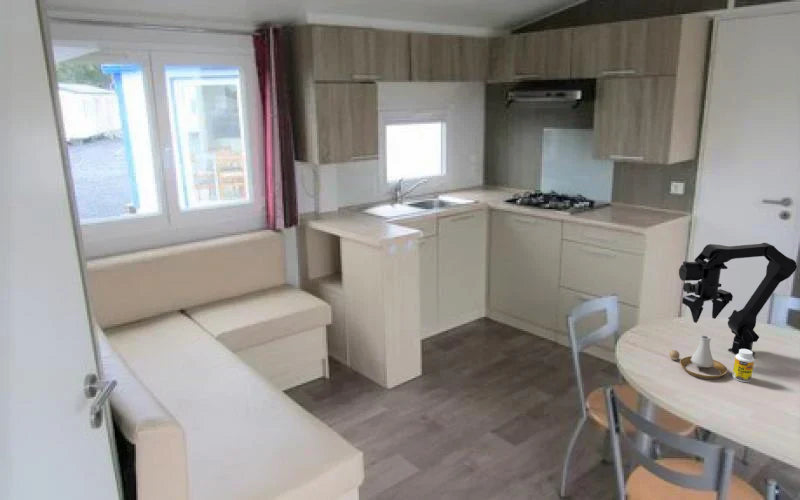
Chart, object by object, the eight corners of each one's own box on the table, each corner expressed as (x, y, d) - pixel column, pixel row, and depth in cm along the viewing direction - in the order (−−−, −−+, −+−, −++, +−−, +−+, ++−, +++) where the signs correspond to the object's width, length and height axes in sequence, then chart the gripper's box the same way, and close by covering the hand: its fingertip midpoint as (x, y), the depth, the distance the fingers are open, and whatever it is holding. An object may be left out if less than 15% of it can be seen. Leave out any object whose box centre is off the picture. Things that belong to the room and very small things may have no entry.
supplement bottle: (734, 381, 196) (738, 353, 193) (730, 373, 201) (734, 346, 198) (752, 383, 194) (757, 355, 192) (748, 376, 200) (753, 348, 197)
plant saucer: (710, 387, 194) (711, 379, 193) (670, 369, 206) (670, 362, 205) (735, 375, 202) (736, 368, 201) (694, 358, 214) (695, 352, 213)
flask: (718, 367, 202) (722, 340, 199) (699, 369, 201) (702, 342, 198) (704, 357, 209) (708, 332, 206) (686, 359, 208) (689, 333, 205)
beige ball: (673, 356, 214) (674, 347, 213) (681, 360, 211) (682, 351, 210) (666, 358, 213) (667, 349, 212) (673, 362, 210) (675, 353, 209)
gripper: (710, 270, 219) (704, 308, 224) (672, 276, 213) (667, 316, 217) (736, 278, 210) (730, 319, 214) (698, 286, 203) (692, 327, 207)
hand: (704, 320), depth 213 cm, fingers open, 9 cm apart
